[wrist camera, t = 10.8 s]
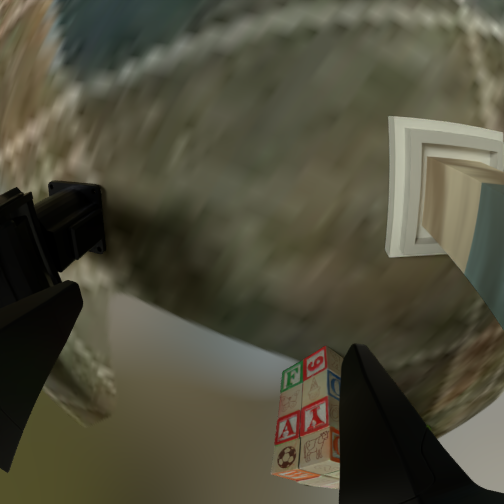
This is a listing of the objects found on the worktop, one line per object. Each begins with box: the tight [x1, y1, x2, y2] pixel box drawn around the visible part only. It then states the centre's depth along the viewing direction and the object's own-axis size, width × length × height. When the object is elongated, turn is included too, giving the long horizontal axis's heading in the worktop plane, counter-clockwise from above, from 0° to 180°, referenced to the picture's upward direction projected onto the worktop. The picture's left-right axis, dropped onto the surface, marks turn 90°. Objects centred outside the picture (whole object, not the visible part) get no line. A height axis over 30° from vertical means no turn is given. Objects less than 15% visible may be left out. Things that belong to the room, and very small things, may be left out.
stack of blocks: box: [271, 346, 343, 489], centre depth 24 cm, size 21×6×12 cm, turn 50°
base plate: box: [385, 116, 504, 257], centre depth 16 cm, size 10×10×2 cm
